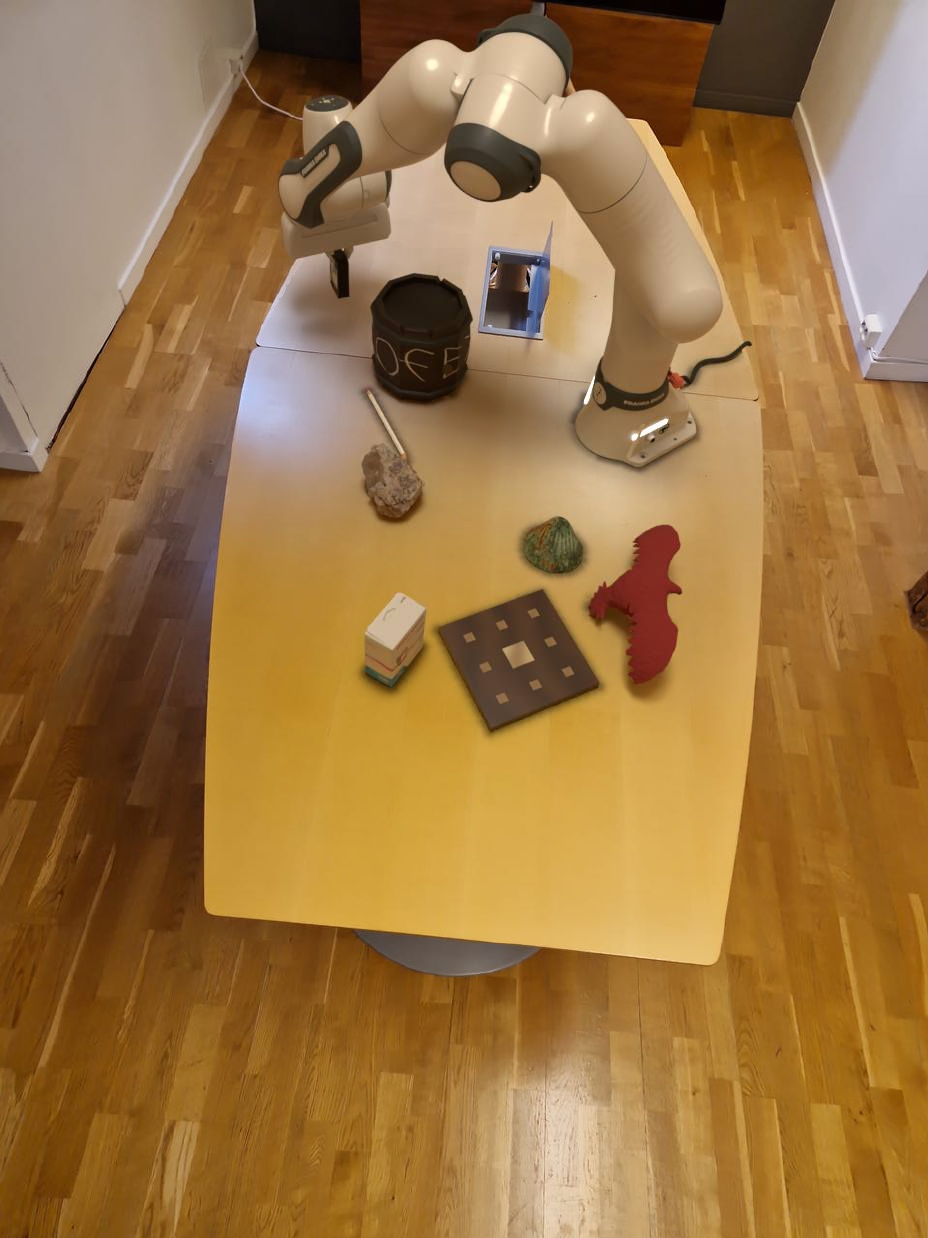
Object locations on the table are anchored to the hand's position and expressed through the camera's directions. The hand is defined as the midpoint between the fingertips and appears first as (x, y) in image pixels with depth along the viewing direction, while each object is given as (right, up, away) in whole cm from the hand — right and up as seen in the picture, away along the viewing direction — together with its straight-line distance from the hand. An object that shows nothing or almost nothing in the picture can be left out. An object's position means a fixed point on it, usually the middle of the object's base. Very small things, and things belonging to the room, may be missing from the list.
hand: (339, 266), depth 154 cm
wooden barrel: (+15, -21, -2) cm, 26 cm away
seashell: (+38, -55, -20) cm, 70 cm away
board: (+32, -73, -32) cm, 86 cm away
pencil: (+10, -33, -9) cm, 35 cm away
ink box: (+13, -73, -33) cm, 81 cm away
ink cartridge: (-1, -3, +5) cm, 6 cm away
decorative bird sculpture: (+49, -66, -26) cm, 87 cm away
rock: (+11, -47, -18) cm, 52 cm away
